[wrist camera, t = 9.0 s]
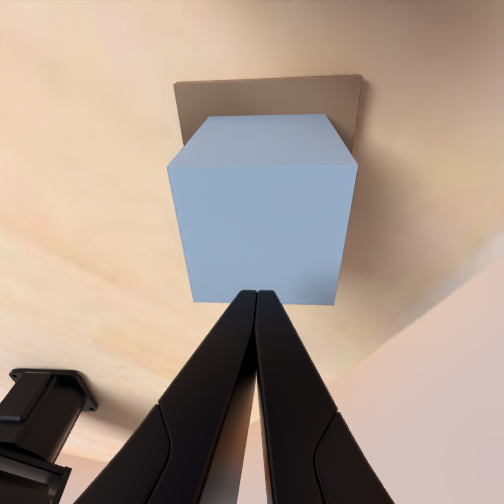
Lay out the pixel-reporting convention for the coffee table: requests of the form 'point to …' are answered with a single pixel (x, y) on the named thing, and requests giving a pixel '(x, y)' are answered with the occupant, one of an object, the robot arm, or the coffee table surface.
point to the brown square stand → (271, 100)
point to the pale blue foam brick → (264, 207)
